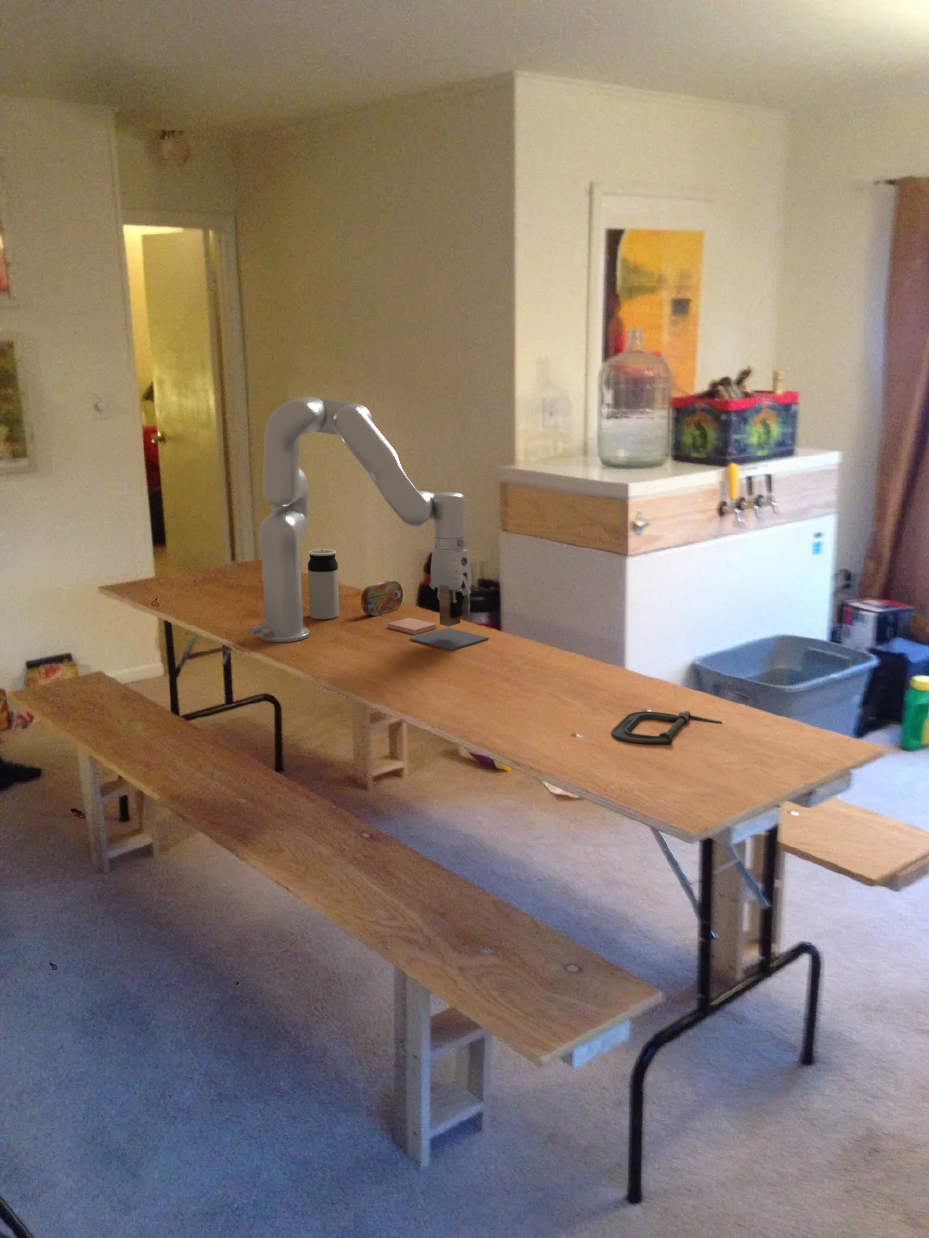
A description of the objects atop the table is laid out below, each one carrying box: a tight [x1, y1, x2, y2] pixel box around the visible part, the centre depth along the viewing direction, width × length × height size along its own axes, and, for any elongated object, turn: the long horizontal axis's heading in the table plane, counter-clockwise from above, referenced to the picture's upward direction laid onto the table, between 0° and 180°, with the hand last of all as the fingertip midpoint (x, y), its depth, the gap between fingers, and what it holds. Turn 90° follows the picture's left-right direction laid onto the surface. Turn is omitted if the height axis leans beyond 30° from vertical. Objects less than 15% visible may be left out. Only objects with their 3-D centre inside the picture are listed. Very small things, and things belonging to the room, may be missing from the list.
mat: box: [409, 627, 490, 652], centre depth 268 cm, size 14×14×1 cm
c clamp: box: [610, 710, 723, 746], centre depth 207 cm, size 20×17×3 cm
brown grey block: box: [439, 585, 471, 627], centre depth 266 cm, size 5×8×10 cm, turn 48°
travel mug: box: [307, 548, 340, 621], centre depth 288 cm, size 8×8×18 cm
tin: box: [360, 580, 404, 617], centre depth 294 cm, size 15×3×8 cm, turn 143°
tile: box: [387, 617, 437, 635], centre depth 279 cm, size 2×10×8 cm
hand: (450, 615), depth 267 cm, fingers closed on brown grey block, 3 cm apart
